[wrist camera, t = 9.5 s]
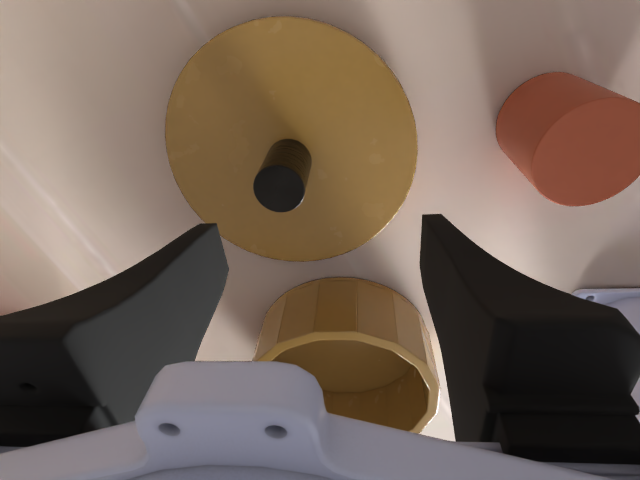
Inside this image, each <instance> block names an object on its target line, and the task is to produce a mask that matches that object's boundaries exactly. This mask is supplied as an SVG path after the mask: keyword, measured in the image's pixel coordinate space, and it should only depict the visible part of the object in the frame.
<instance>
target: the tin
mask: <svg viewBox="0 0 640 480" xmlns="http://www.w3.org/2000/svg"><path fill="white" fill-rule="evenodd" d="M252 361H277V362H283V363H288V364H294V365H297V366H299V367H300V368H302V369H304V370H305V371H307V372H309V373H310V374H312V375H313V376H315V378H316V380H317V381H318V383H319V385H320V387H321V389H322V391H323V399H324V405H325V408H326V411H327V412H328V413H331V414H335V415H339V416H344V417H348V418H352V419H357V420H361V421H365V422H370V423H374V424H378V425H382V426H387V427H391V428H395V429H400V430H404V431H408V432H413V433H417V434H419V433H420V432H422V430H423V429H424V428H425V427H426V426H427V424H428V423H429V422H430V421H431V420H432V418H433V417H434V416H435V415H436V414H437V412H438V405H439V397H440V383H439V379H438V374H437V369H436V364H435V360H434V355H433V350H432V345H431V341H430V336H429V333H428V331H427V329H426V326H425V323H424V321H423V318H422V317H421V315H420V313H419V312H418V310H417V309H416V308H415V307H414V306H413V305H412V303H410V302H409V301H408V300H407V299H406V298H405V297H403V296H402V295H400V294H399V293H397V292H396V291H394V290H392V289H390V288H388V287H386V286H384V285H381V284H378V283H375V282H372V281H368V280H364V279H357V278H346V277H335V278H324V279H319V280H314V281H311V282H307V283H304V284H302V285H299V286H297V287H295V288H293V289H291V290H290V291H288V292H286V293H285V294H284V295H282V296H281V297H280V298H278V299H277V300H276V302H275V303H274V304H273V305H272V306H271V307H270V309H269V310H268V312H267V313H266V316H265V319H264V321H263V325H262V328H261V331H260V334H259V337H258V341H257V345H256V348H255V352H254V356H253V359H252Z"/></svg>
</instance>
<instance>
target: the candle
mask: <svg viewBox="0 0 640 480" xmlns="http://www.w3.org/2000/svg"><path fill="white" fill-rule="evenodd" d="M496 137H497V141H498V143H499V146H500V147H501V149H502V150H503V152H504V153H505V154H506V155H507V156H508V157H509V158H510V160H511V161H512V162H513V163H514V164H515V165H516V166H517V168H518V169H519V170H520V171H521V172H522V173H523V174H524V176H525V177H526V178H527V179H528V180H529V181H530V182H531V184H532V185H533V186H534V187H535V188H536V189H537V190H538V192H539V193H540V194H541V195H542V196H544V197H545V198H546V199H548V200H550V201H552V202H554V203H557V204H560V205H565V206H585V205H590V204H594V203H598V202H601V201H603V200H606V199H608V198H610V197H612V196H614V195H616V194H618V193H619V192H621V191H622V190H624V189H625V188H626V187H628V186H629V185H630V184H631V183H632V182H634V181H635V180H636V179H637V178H638V177H639V175H640V103H638V102H636V101H634V100H632V99H629V98H627V97H624V96H622V95H620V94H617V93H615V92H613V91H610V90H608V89H606V88H603V87H601V86H598V85H596V84H594V83H591V82H589V81H587V80H584V79H582V78H580V77H577V76H575V75H572V74H569V73H564V72H552V73H546V74H542V75H539V76H537V77H534V78H532V79H530V80H528V81H527V82H525V83H523V84H522V85H521V86H519V87H518V88H517V89H516V90H515V91H514V92H513V93H512V94H511V95H510V96H509V97H508V99H507V100H506V101H505V103H504V104H503V106H502V108H501V110H500V112H499V115H498V118H497V123H496Z"/></svg>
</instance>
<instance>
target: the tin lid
mask: <svg viewBox="0 0 640 480" xmlns="http://www.w3.org/2000/svg"><path fill="white" fill-rule="evenodd" d="M165 139H166V149H167V154H168V159H169V163H170V167H171V170H172V172H173V175H174V178H175V180H176V182H177V184H178V186H179V188H180V190H181V192H182V194H183V196H184V197H185V199H186V200H187V202H188V203H189V205H190V206H191V208H192V209H193V210H194V211H195V212H196V213H197V215H198V216H199V217H200V218H201V219H202V220H203V221H204V222H205V223H217V226H218V230H219V234H220V236H222V237H223V238H225V239H226V240H228V241H230V242H231V243H233V244H234V245H236V246H238V247H240V248H243V249H245V250H247V251H249V252H252V253H255V254H258V255H260V256H264V257H268V258H272V259H277V260H284V261H301V262H304V261H316V260H322V259H327V258H332V257H335V256H338V255H341V254H344V253H346V252H349V251H351V250H353V249H355V248H357V247H359V246H361V245H362V244H364V243H366V242H367V241H369V240H370V239H372V238H373V237H374V236H375V235H377V234H378V233H379V232H380V231H381V230H382V229H383V228H384V227H385V226H386V225H387V224H388V223H389V222H390V221H391V220H392V218H393V217H394V216H395V215H396V213H397V212H398V211H399V209H400V207H401V206H402V204H403V202H404V200H405V199H406V196H407V194H408V192H409V189H410V187H411V184H412V181H413V177H414V173H415V169H416V161H417V132H416V126H415V120H414V117H413V113H412V110H411V107H410V104H409V101H408V99H407V97H406V95H405V93H404V91H403V89H402V86H401V84H400V83H399V81H398V80H397V78H396V77H395V75H394V74H393V72H392V71H391V69H390V68H389V67H388V66H387V65H386V63H385V62H384V61H383V60H382V59H381V58H380V57H379V55H377V54H376V53H375V52H374V51H373V50H372V49H370V48H369V47H368V46H367V45H366V44H365V43H363V42H362V41H360V40H359V39H357V38H356V37H354V36H352V35H351V34H349V33H348V32H346V31H344V30H341V29H339V28H337V27H335V26H333V25H330V24H327V23H324V22H320V21H317V20H313V19H309V18H302V17H294V16H272V17H266V18H260V19H255V20H251V21H248V22H245V23H242V24H239V25H236V26H234V27H232V28H230V29H228V30H226V31H224V32H222V33H220V34H218V35H217V36H215V37H214V38H213V39H211V40H210V41H209V42H207V43H206V44H205V45H203V46H202V47H201V48H200V49H199V50H198V51H197V53H196V54H195V55H194V56H193V57H192V58H191V59H190V60H189V62H188V63H187V64H186V66H185V67H184V69H183V70H182V72H181V73H180V75H179V77H178V79H177V81H176V83H175V85H174V87H173V90H172V93H171V96H170V99H169V103H168V108H167V114H166V121H165Z"/></svg>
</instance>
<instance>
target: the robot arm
mask: <svg viewBox="0 0 640 480" xmlns="http://www.w3.org/2000/svg"><path fill="white" fill-rule="evenodd" d="M420 270H421V277H422V283H423V289H424V293H425V296H426V299H427V303H428V306H429V310H430V313H431V316H432V320H433V323H434V326H435V330H436V333H437V337H438V340H439V344H440V348H441V352H442V358H443V364H444V369H445V375H446V381H447V387H448V393H449V399H450V406H451V412H452V419H453V426H454V433H455V439H456V442H454V441H447V440H443V439H438V438H434V437H430V436H425V435H421V434H417V433H413V432H408V431H404V430H400V429H395V428H391V427H387V426H382V425H378V424H374V423H370V422H365V421H361V420H357V419H352V418H348V417H344V416H339V415H335V414H331V413H328V412H327V411H326V408H325V405H324V399H323V391H322V389H321V387H320V385H319V383H318V381H317V380H316V378H315V376H313V375H312V374H310V373H309V372H307V371H305V370H304V369H302V368H300V367H299V366H297V365H294V364H288V363H283V362H277V361H195V358H196V355H197V352H198V349H199V347H200V344H201V341H202V339H203V337H204V335H205V332H206V330H207V328H208V325H209V323H210V321H211V319H212V316H213V314H214V312H215V310H216V307H217V305H218V303H219V300H220V298H221V296H222V293H223V290H224V286H225V283H226V279H227V275H228V271H229V267H228V264H227V260H226V256H225V252H224V249H223V245H222V241H221V237H220V234H219V230H218V226H217V223H203V224H199V225H197V226H195V227H193V228H192V229H190V230H188V231H187V232H185V233H184V234H182V235H181V236H179V237H178V238H176V239H175V240H173V241H172V242H170V243H169V244H168V245H166V246H165V247H163V248H162V249H160V250H159V251H157V252H155V253H154V254H152V255H151V256H149V257H147V258H146V259H144V260H142V261H141V262H139V263H138V264H136V265H134V266H132V267H131V268H129V269H127V270H125V271H123V272H121V273H119V274H117V275H115V276H113V277H111V278H109V279H107V280H105V281H103V282H101V283H98V284H96V285H94V286H91V287H89V288H87V289H84V290H82V291H80V292H77V293H75V294H72V295H69V296H66V297H64V298H61V299H58V300H55V301H52V302H49V303H46V304H43V305H39V306H36V307H33V308H29V309H25V310H22V311H18V312H14V313H11V314H7V315H3V316H0V480H640V288H613V289H578V290H576V291H574V292H573V293H572V294H568V293H565V292H563V291H560V290H557V289H555V288H552V287H550V286H548V285H545V284H543V283H541V282H538V281H536V280H534V279H532V278H530V277H528V276H526V275H524V274H522V273H520V272H518V271H516V270H514V269H513V268H511V267H509V266H507V265H506V264H504V263H502V262H501V261H499V260H497V259H496V258H494V257H493V256H491V255H490V254H489V253H487V252H486V251H484V250H483V249H482V248H480V247H479V246H478V245H476V244H475V243H474V242H473V241H471V240H470V239H469V238H468V237H466V236H465V235H464V234H463V233H462V232H461V231H459V230H458V229H457V228H456V227H455V226H454V225H453V224H452V223H451V222H449V221H448V220H447V219H446V218H445V217H444V216H443V215H442V214H429V215H422V232H421V250H420ZM590 295H591V296H590ZM588 296H589V297H588Z"/></svg>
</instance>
